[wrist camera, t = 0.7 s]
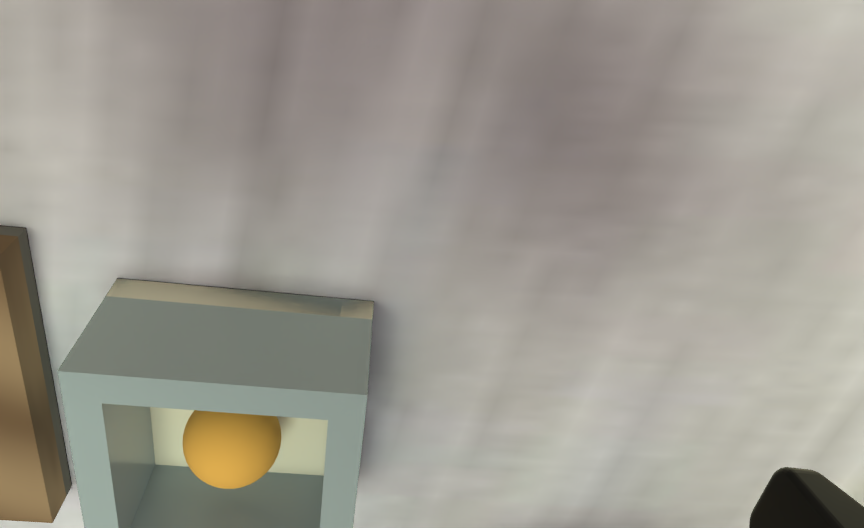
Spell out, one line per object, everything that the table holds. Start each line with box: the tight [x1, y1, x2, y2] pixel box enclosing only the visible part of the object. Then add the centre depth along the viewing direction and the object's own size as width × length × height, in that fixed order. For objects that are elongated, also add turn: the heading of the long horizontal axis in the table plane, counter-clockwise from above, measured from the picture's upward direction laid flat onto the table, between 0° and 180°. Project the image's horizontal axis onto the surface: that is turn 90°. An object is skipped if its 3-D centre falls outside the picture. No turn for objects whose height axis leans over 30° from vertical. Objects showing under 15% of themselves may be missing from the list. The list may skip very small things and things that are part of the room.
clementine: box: [183, 410, 281, 489], centre depth 23 cm, size 3×3×3 cm
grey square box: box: [57, 278, 374, 528], centre depth 23 cm, size 8×8×4 cm
